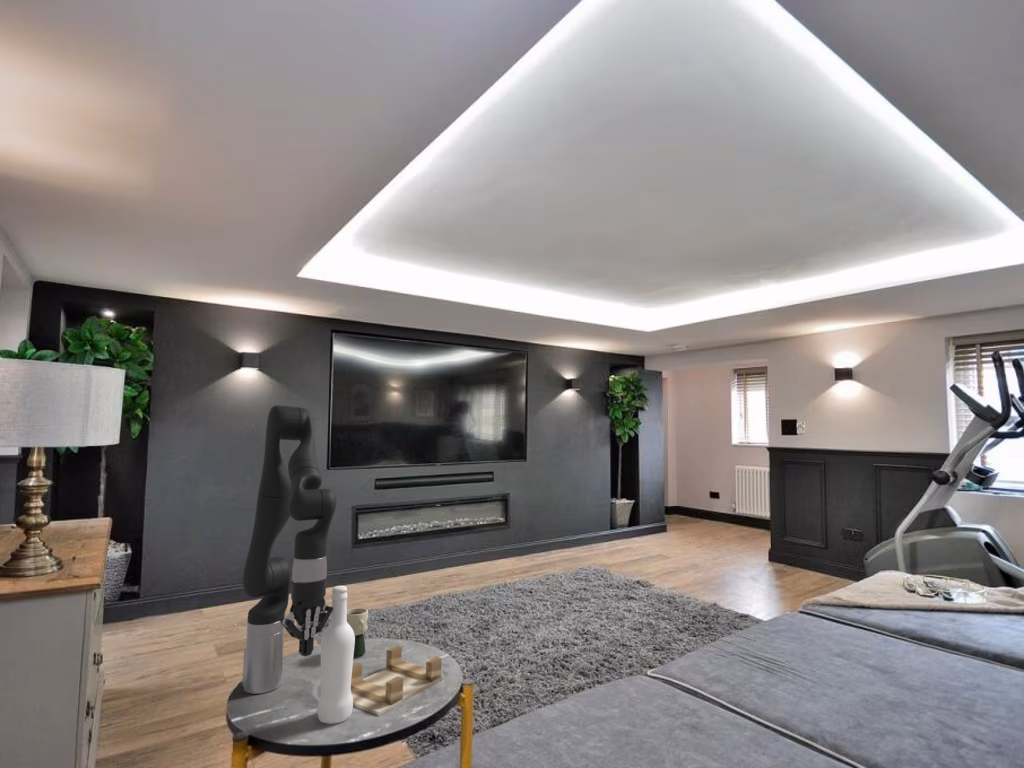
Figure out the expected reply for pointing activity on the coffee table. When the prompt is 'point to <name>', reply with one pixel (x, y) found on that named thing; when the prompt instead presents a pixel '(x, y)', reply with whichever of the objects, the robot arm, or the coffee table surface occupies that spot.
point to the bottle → (336, 663)
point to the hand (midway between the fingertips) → (305, 654)
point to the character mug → (358, 627)
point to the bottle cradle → (392, 682)
